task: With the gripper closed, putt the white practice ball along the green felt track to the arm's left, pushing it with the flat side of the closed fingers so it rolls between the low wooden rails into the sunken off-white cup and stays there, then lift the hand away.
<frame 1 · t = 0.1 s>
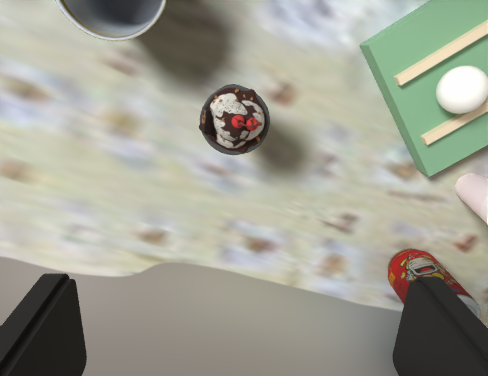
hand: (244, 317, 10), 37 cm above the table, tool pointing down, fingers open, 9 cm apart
soda can: (406, 264, 55), on the table
ball: (462, 89, 40), point 5 cm above the table, touching green
smoothie: (467, 185, 50), on the table
sundae: (233, 104, 45), on the table
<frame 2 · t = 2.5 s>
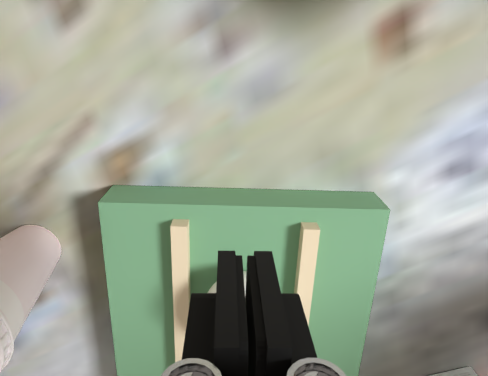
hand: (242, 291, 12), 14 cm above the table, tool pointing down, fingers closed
green: (237, 365, 31), on the table
smoothie: (36, 246, 27), on the table
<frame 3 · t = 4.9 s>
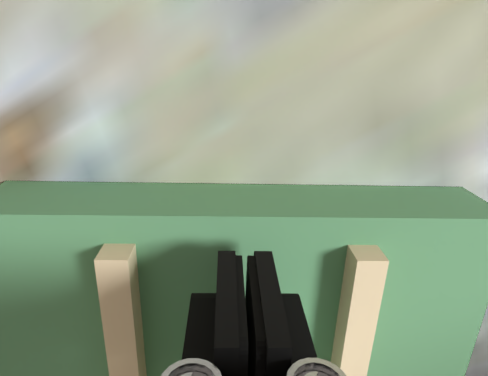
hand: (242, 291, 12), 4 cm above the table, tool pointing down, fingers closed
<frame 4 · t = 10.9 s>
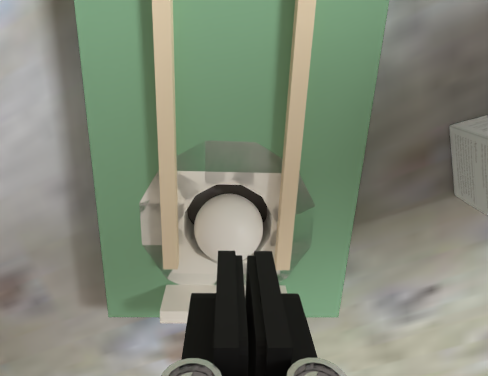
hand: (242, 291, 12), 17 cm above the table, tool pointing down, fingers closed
green: (230, 104, 26), on the table
skincare box: (475, 152, 29), on the table
ball: (228, 228, 27), point 2 cm above the table, tilted 102°
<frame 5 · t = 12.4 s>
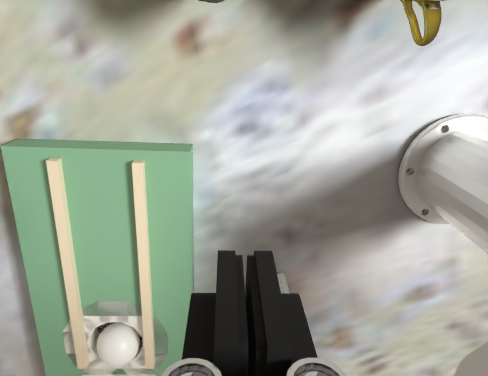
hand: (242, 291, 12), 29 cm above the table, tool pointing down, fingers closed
green: (117, 272, 45), on the table
ball: (118, 343, 45), point 2 cm above the table, tilted 104°
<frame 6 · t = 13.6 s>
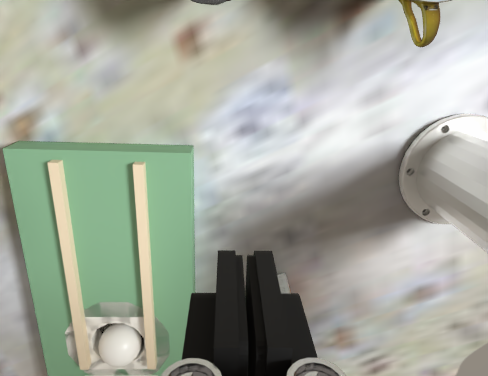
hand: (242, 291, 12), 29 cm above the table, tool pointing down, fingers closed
green: (119, 273, 45), on the table
ball: (120, 344, 46), point 2 cm above the table, tilted 103°
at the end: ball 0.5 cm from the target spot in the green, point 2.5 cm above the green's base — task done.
